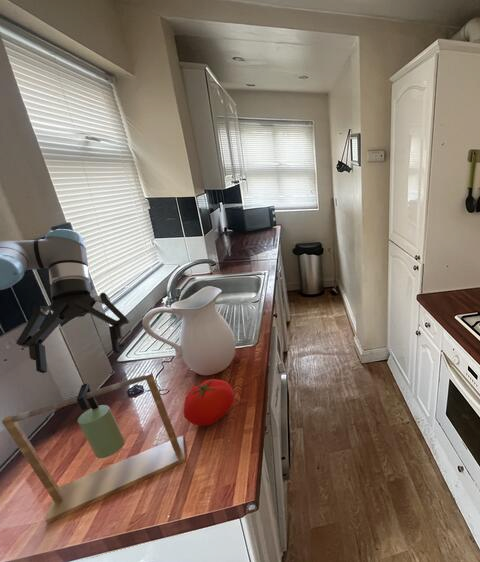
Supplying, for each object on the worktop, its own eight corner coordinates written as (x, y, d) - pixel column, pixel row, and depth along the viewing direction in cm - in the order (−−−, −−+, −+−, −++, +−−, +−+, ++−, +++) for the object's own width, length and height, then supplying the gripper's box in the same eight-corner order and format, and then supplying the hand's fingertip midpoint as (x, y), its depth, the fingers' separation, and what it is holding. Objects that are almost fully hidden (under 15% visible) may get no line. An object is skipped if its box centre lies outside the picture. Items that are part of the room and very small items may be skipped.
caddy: (93, 462, 65) (61, 404, 59) (97, 445, 70) (68, 388, 63) (123, 450, 68) (96, 393, 62) (126, 434, 72) (100, 379, 66)
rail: (47, 524, 63) (-15, 437, 54) (57, 491, 69) (4, 408, 60) (186, 461, 75) (155, 381, 66) (184, 438, 82) (156, 362, 72)
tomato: (209, 397, 95) (200, 369, 91) (245, 401, 93) (238, 373, 89) (177, 432, 83) (165, 402, 79) (218, 437, 81) (208, 407, 77)
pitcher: (229, 346, 121) (212, 281, 111) (247, 364, 110) (231, 294, 99) (159, 375, 106) (132, 303, 95) (171, 400, 95) (143, 321, 84)
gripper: (134, 280, 89) (147, 348, 83) (11, 301, 77) (16, 383, 70) (126, 267, 83) (140, 340, 77) (-9, 289, 70) (-5, 377, 64)
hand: (81, 361), depth 73 cm, fingers open, 13 cm apart
